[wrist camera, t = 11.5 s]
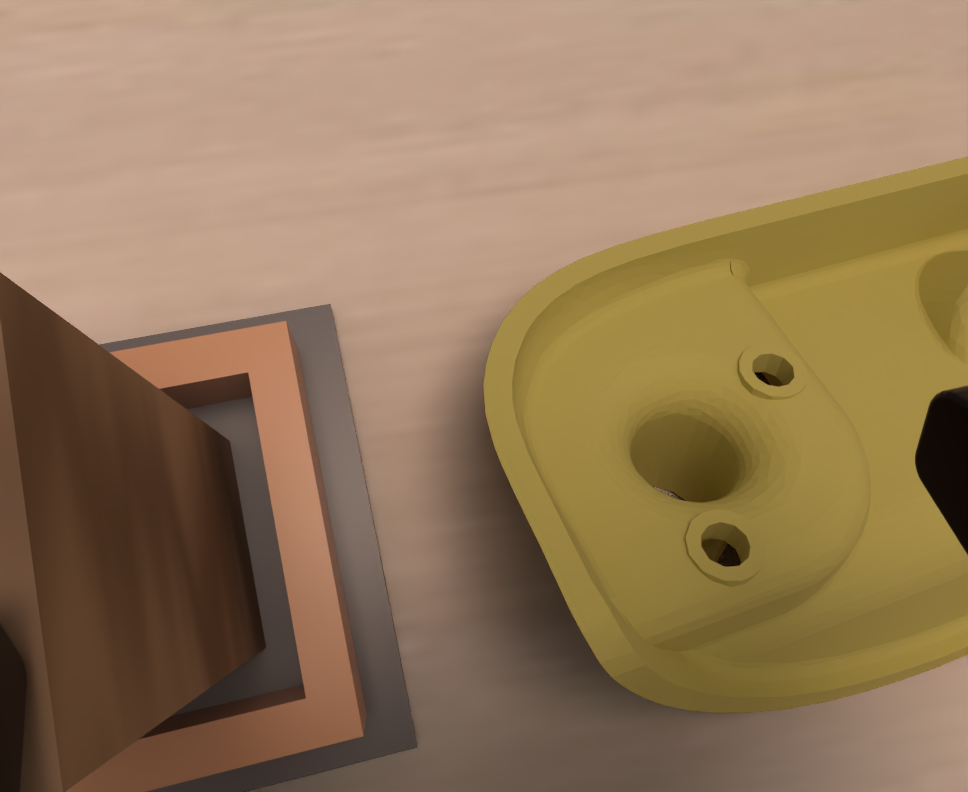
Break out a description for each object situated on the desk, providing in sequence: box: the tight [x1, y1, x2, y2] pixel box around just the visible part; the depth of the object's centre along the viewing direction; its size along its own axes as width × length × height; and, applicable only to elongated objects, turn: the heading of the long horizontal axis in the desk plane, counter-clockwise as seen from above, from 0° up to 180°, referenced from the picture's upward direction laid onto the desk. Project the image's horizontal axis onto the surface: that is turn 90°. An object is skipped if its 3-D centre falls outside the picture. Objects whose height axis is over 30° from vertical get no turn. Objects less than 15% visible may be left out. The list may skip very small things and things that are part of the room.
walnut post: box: [0, 273, 266, 792], centre depth 14 cm, size 5×5×12 cm
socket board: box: [66, 304, 417, 792], centre depth 19 cm, size 11×11×3 cm
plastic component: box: [483, 157, 968, 713], centre depth 21 cm, size 20×7×10 cm
